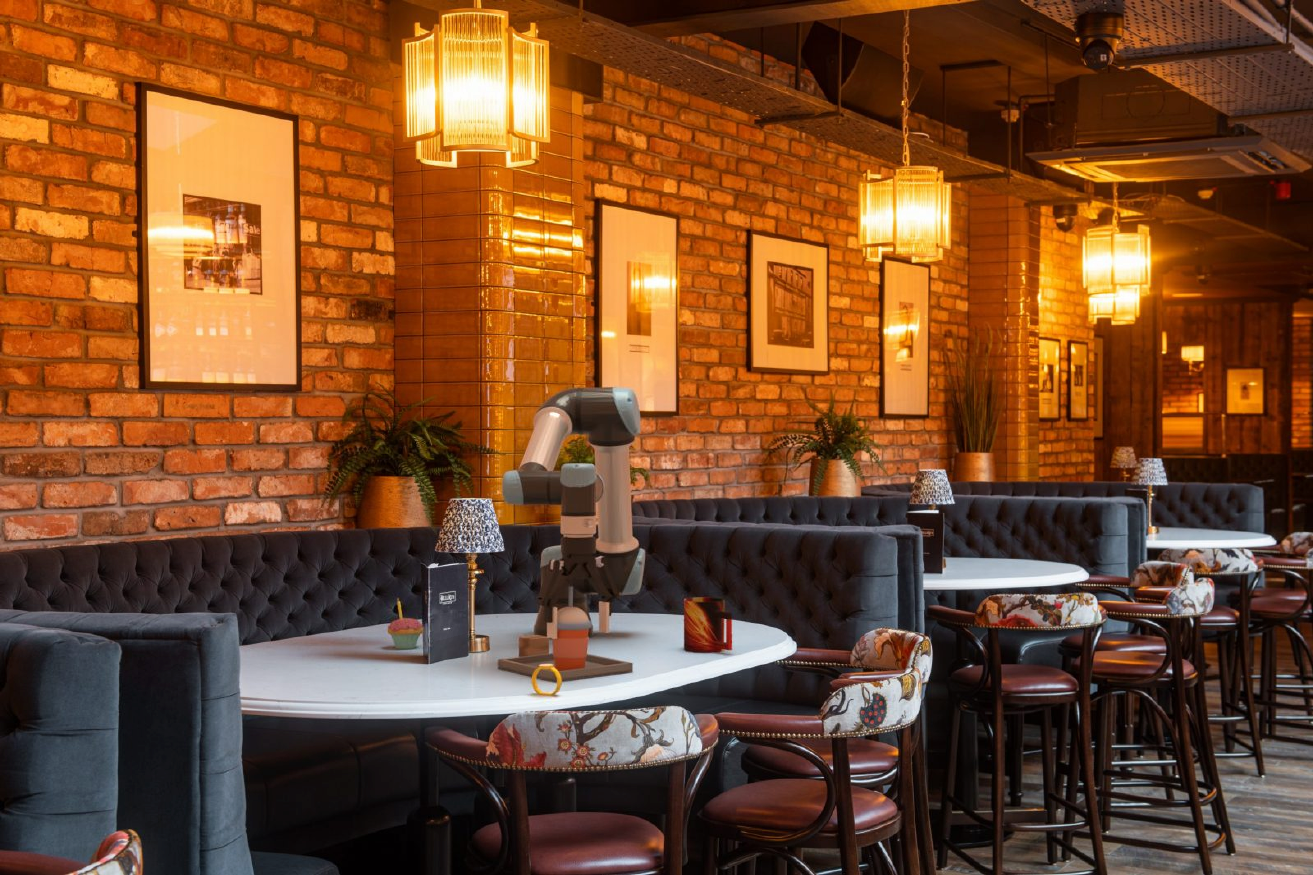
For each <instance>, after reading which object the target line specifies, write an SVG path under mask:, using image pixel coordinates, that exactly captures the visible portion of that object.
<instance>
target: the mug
mask: <svg viewBox="0 0 1313 875" xmlns="http://www.w3.org/2000/svg"><path fill="white" fill-rule="evenodd" d="M725 625H726V626H725ZM732 632H733V612H732V611H731V612H730V611H726V610H725V599H723V598H721V597H720V598H719V597H705V596H704V597H688V598H684V599H683V651H684V650H685V652H688V653H693V654H715V653H716V654H717V653H721V652H724V651H733V633H732ZM725 641H726V642H725Z"/></svg>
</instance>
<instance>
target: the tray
mask: <svg viewBox="0 0 1313 875" xmlns="http://www.w3.org/2000/svg"><path fill="white" fill-rule="evenodd" d="M541 664H553V667H554V668H555V659H554V656H553V652H552V653H551V652H549V654H541V655H533V656H524V657H519V656H516V657H507V658H498V659H497V667H498V670H502V671H507V672H511V673H515V674H519V675H524V676H527V677H531V678H532V675H533V673H534V671H535V670H536V669H537V668H539V665H541ZM633 664H634V662H629V661H625V660H619V659H615V658H610V657H605V656H600V655H595V654H589V653H587V657H586V660H585V668H581V669H573V670H565V671H559V673H560V675H561V679H562V682H571V681H575V680H576V681H577V680H578V681H579V680H585V679H592V678H600V677H608V676H614V675H621V674H629V673H630V674H633V673H634V672H633V669H634V667H633ZM536 679H539V680H545V681H549V682H552V683H557V678H556V676H555V674H554V672H553V671H551V670H550V669H541V670H539V672H538V674H537V676H536Z"/></svg>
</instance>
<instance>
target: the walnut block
mask: <svg viewBox="0 0 1313 875" xmlns="http://www.w3.org/2000/svg"><path fill="white" fill-rule="evenodd" d="M541 654H550V638H548V637H545V636H540V635H534V634H533V635H525V636H524V635H523V636H518V657H524V656H533V655H541Z"/></svg>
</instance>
